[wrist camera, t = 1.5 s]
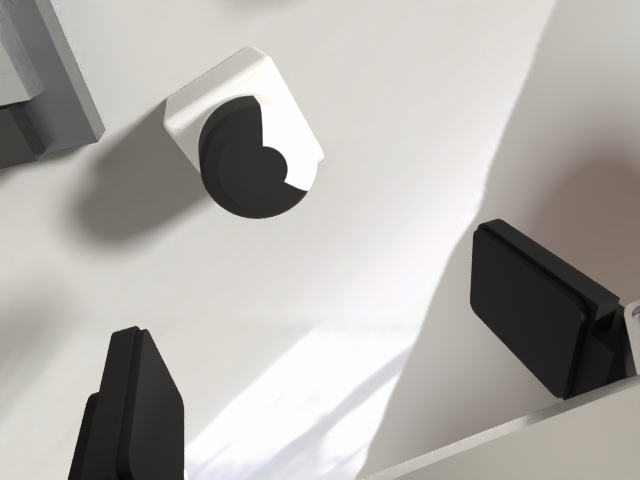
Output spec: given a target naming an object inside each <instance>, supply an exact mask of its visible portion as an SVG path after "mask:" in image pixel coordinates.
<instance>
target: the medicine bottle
mask: <svg viewBox="0 0 640 480" xmlns="http://www.w3.org/2000/svg"><path fill="white" fill-rule="evenodd" d="M163 126H164V128H165V129H166V131H167V132H168V133H169V134H170V136H171V137H172V138H173V140H174V141H175V142H176V143H177V145H178V146H179V147H180V149H181V150H182V151H183V152H184V154H185V155H186V156H187V158H188V159H189V160H190V161H191V163H192V164H193V165H194V167H195V168H196V169H197V170H198V172H199V173H200V174H201V177H202V181H203V183H204V185H205V188H206V190H207V191H208V193H209V194H210V196H211V197H212V198H213V199H214V201H215V202H216V203H218V204H219V205H220V206H221V207H222V208H224V209H225V210H227V211H229V212H231V213H232V214H235V215H238V216H241V217H246V218H253V219H261V218H269V217H273V216H276V215H280V214H282V213H284V212H286V211H288V210H289V209H291V208H292V207H294V206H295V205H296V204H297V203H299V202H300V201H301V200H302V199H303V197H304V196H305V195H306V194H307V192H308V191H309V189H310V187H311V185H312V183H313V181H314V178H315V175H316V170H317V163H319V162H320V161H322V160H323V158H324V154H323V151H322V149H321V148H320V146H319V144H318V142H317V140H316V139H315V137H314V135H313V133H312V131H311V130H310V128H309V126H308V124H307V122H306V121H305V119H304V117H303V115H302V113H301V111H300V110H299V108H298V106H297V104H296V102H295V101H294V99H293V97H292V95H291V93H290V92H289V90H288V88H287V86H286V84H285V83H284V81H283V79H282V77H281V75H280V73H279V72H278V70H277V68H276V66H275V64H274V63H273V61H272V59H271V58H270V57H269V56H267V55H266V54H264V53H263V52H261V51H260V50H258V49H256V48H255V47H253V46H247V47H246V48H244V49H242V50H241V51H239V52H238V53H236V54H235V55H233V56H232V57H230V58H229V59H227V60H225V61H224V62H222V63H221V64H219V65H218V66H216V67H215V68H213V69H211V70H210V71H208V72H207V73H205V74H204V75H202V76H201V77H199V78H197V79H196V80H194V81H193V82H191V83H190V84H188V85H187V86H185V87H184V88H182V89H180V90H179V91H177V92H176V93H174V94H173V95H171V96H170V97H168V99H167V103H166V109H165V115H164V121H163Z"/></svg>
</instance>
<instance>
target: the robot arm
mask: <svg viewBox="0 0 640 480" xmlns="http://www.w3.org/2000/svg"><path fill="white" fill-rule="evenodd" d="M619 300H620V298H619V297H618V296H616V295H614V294H613V293H612V292H610V291H609V290H607V289H606V288H604V287H603V286H601V285H600V284H598V283H597V282H595V281H593V280H592V279H590V278H589V277H587V276H586V275H584V274H583V273H581V272H580V271H578V270H577V269H575V268H574V267H572V266H571V265H569V264H568V263H566V262H565V261H563V260H562V259H560V258H559V257H557V256H556V255H554V254H553V253H551V252H550V251H548V250H547V249H545V248H544V247H542V246H541V245H539V244H538V243H536V242H535V241H533V240H532V239H530V238H529V237H527V236H526V235H524V234H523V233H521V232H520V231H518V230H517V229H515V228H514V227H512V226H511V225H509V224H508V223H506V222H505V221H503V220H501V219H495V220H492V221H489V222H485V223H482V224H480V225H479V226H478V228H477V230H476V231H475V232H474V234H473V250H472V271H471V292H470V304H471V307H472V309H473V311H474V313H475V314H476V315H477V316H478V317H479V318H480V319H481V320H482V321H483V322H484V323H485V324H486V325H487V326H488V327H489V328H490V329H491V331H493V333H494V334H495V335H496V336H497V337H498V338H499V339H500V340H501V341H502V342H503V343H504V344H505V345H506V346H507V347H508V348H509V349H510V350H511V351H512V352H513V354H514V355H515V356H516V357H517V358H518V359H519V360H520V361H521V362H522V363H523V364H524V365H525V366H526V367H527V368H528V369H529V370H530V371H531V372H532V373H533V374H534V375H535V376H536V377H537V378H538V380H540V382H541V383H542V384H543V385H544V386H545V387H546V388H547V389H548V390H549V391H550V392H551V393H552V394H553V395H554V396H555V397H557V398H562V399H563V400H564V401H562V402H560V403H557V404H555V405H552V406H549V407H547V408H544V409H541V410H539V411H536V412H533V413H531V414H528V415H526V416H523V417H520V418H518V419H515V420H512V421H510V422H507V423H505V424H502V425H499V426H497V427H494V428H491V429H489V430H486V431H484V432H481V433H478V434H476V435H473V436H471V437H468V438H465V439H463V440H460V441H458V442H455V443H453V444H450V445H447V446H445V447H443V448H440V449H437V450H434V451H432V452H429V453H427V454H424V455H422V456H419V457H417V458H414V459H411V460H409V461H406V462H404V463H401V464H399V465H396V466H393V467H391V468H388V469H386V470H383V471H380V472H378V473H375V474H373V475H370V476H368V477H365V478H363V479H360V480H640V301H635V302H633V303H631V304H628V306H627V307H626V308H624V307H623V306H621V305H619V304H618V303H619ZM68 480H184V405H183V400H182V397H181V395H180V393H179V391H178V389H177V387H176V385H175V383H174V381H173V379H172V377H171V375H170V373H169V371H168V369H167V367H166V365H165V363H164V361H163V359H162V357H161V355H160V353H159V351H158V349H157V347H156V345H155V343H154V341H153V339H152V337H151V335H150V333H149V331H148V330H147V329H144V330H140V329H139V327H137V326H134V327H130V328H127V329H124V330H120V331H117V332H114V333H113V334H112V336H111V340H110V344H109V349H108V353H107V358H106V362H105V367H104V372H103V376H102V381H101V385H100V390H99V392H97V393H94V394H91V396H90V397H89V398H88V401H87V403H86V407H85V411H84V415H83V419H82V424H81V428H80V432H79V436H78V440H77V444H76V448H75V452H74V456H73V460H72V464H71V468H70V472H69V476H68Z"/></svg>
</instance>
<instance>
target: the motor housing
mask: <svg viewBox="0 0 640 480" xmlns="http://www.w3.org/2000/svg"><path fill="white" fill-rule="evenodd" d="M104 131H105V128H104V126H103V123H102V121H101V119H100V116H99V114H98V112H97V109H96V107H95V105H94V102H93V100H92V98H91V95H90V93H89V91H88V88H87V86H86V84H85V81H84V79H83V77H82V74H81V72H80V70H79V67H78V65H77V63H76V60H75V58H74V56H73V53H72V51H71V49H70V46H69V44H68V42H67V39H66V37H65V35H64V32H63V30H62V28H61V25H60V23H59V21H58V19H57V16H56V14H55V12H54V9H53V7H52V5H51V2H50V0H0V169H1V168H6V167H10V166H14V165H19V164H23V163H28V162H32V161H37V160H38V158H39V157H40V156H41V155H42V154H47V153H51V152H56V151H60V150H65V149H69V148H74V147H78V146H83V145H87V144H92V143H96V142H98V141H99V140H100V138H101V136H102V135H103V133H104Z"/></svg>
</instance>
